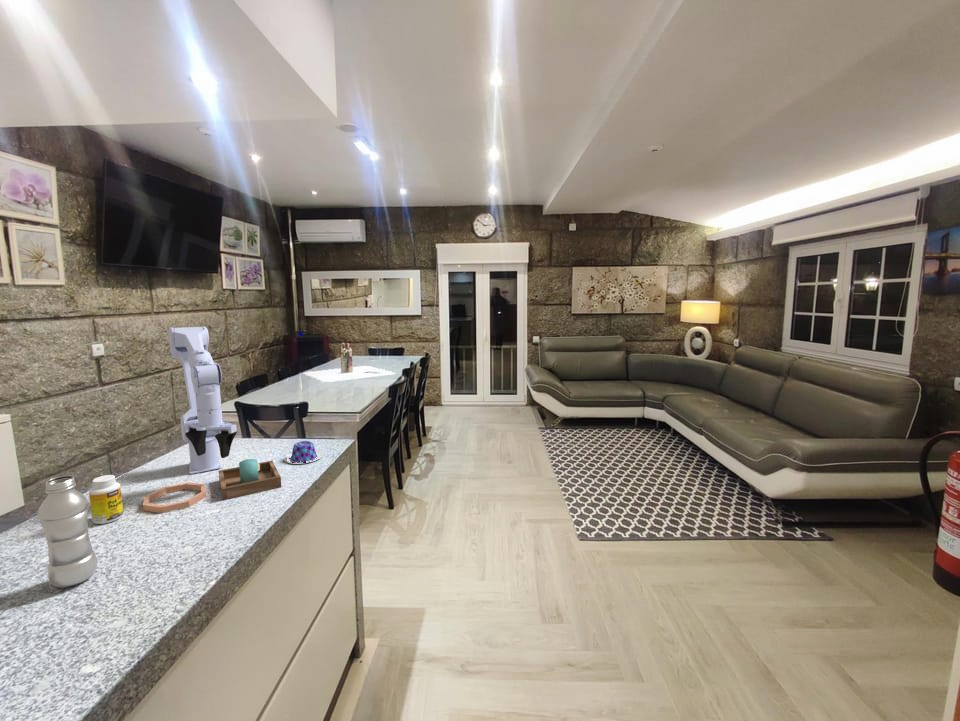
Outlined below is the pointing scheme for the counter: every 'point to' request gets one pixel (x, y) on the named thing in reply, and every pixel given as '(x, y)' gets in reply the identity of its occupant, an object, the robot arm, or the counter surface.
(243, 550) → the counter surface
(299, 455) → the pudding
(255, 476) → the teal tapered cylinder
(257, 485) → the tray
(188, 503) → the collar
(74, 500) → the plastic bottle
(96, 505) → the supplement bottle
